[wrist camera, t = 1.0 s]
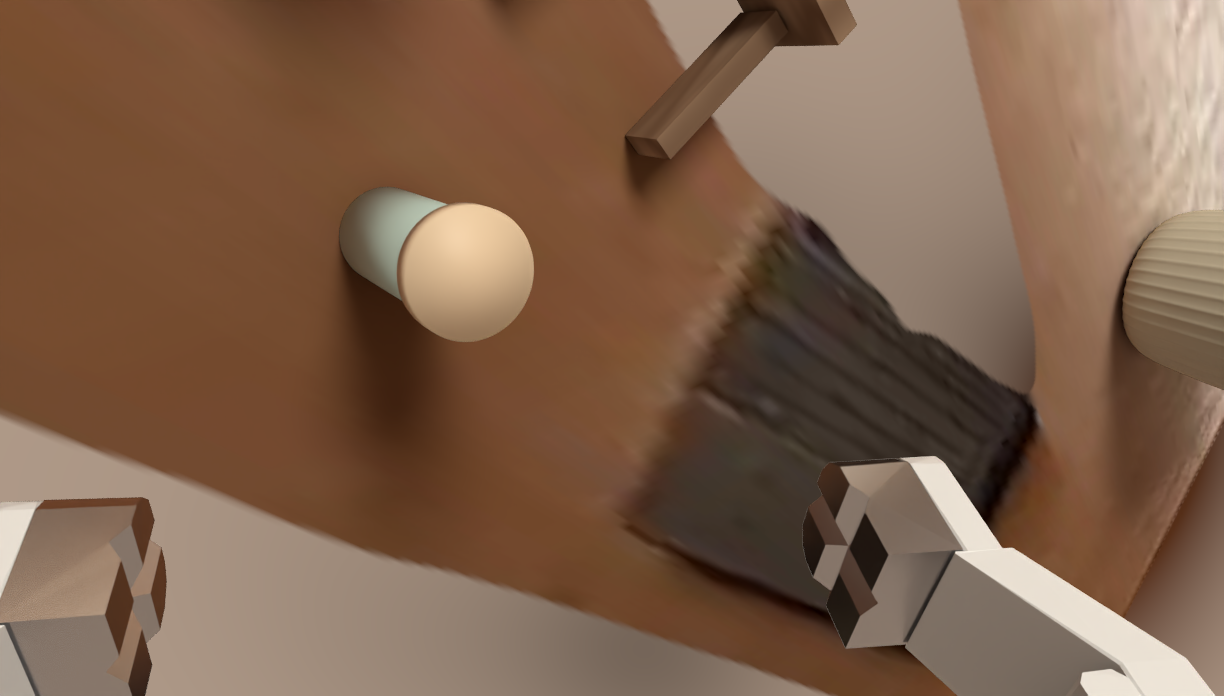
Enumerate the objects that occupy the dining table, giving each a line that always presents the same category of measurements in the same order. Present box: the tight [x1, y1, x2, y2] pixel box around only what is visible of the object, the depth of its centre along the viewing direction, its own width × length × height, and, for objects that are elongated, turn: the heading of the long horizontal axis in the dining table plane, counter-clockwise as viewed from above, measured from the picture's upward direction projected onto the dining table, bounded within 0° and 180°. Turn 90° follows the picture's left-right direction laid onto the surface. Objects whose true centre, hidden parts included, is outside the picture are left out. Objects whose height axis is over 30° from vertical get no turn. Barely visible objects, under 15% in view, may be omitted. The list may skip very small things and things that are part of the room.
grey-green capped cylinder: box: [339, 187, 534, 342], centre depth 40 cm, size 5×5×10 cm
